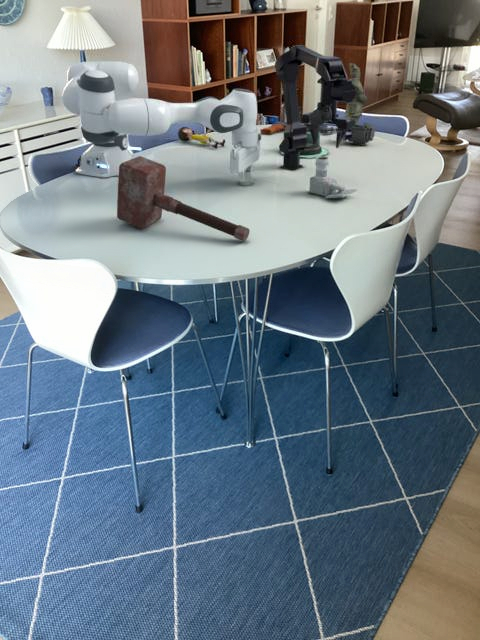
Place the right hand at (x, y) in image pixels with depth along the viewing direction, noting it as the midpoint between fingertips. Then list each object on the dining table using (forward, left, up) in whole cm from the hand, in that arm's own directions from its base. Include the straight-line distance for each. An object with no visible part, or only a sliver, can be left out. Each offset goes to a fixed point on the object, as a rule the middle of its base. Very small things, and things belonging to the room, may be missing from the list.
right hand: (326, 146), depth 194 cm
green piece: (-28, -29, -12) cm, 42 cm away
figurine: (-12, -76, -12) cm, 77 cm away
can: (+21, -19, -12) cm, 31 cm away
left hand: (+21, -20, -10) cm, 31 cm away
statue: (-77, -35, -12) cm, 85 cm away
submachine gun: (-54, -53, -12) cm, 77 cm away
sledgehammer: (+67, -3, -12) cm, 68 cm away
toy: (-54, -20, -12) cm, 59 cm away
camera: (+14, +12, -12) cm, 22 cm away
